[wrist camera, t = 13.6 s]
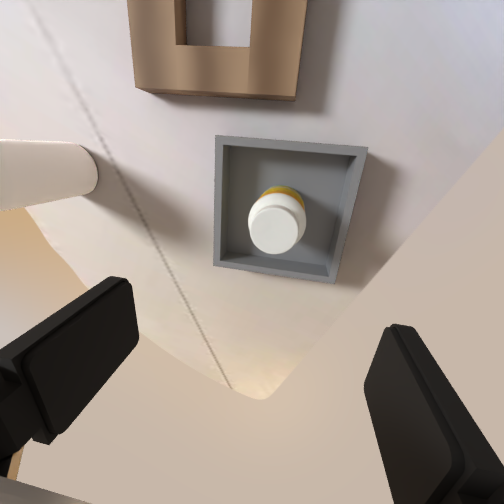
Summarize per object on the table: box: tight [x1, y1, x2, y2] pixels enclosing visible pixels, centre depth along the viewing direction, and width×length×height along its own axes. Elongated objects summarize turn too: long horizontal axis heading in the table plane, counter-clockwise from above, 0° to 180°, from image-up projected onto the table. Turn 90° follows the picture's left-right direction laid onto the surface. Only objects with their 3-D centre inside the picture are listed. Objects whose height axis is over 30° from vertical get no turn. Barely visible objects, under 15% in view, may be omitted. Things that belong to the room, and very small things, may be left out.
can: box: [0, 139, 98, 211], centre depth 26 cm, size 6×6×12 cm
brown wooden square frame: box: [127, 0, 308, 101], centre depth 22 cm, size 16×14×2 cm
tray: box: [213, 135, 368, 284], centre depth 27 cm, size 14×14×4 cm
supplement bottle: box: [248, 185, 306, 254], centre depth 24 cm, size 5×5×10 cm
